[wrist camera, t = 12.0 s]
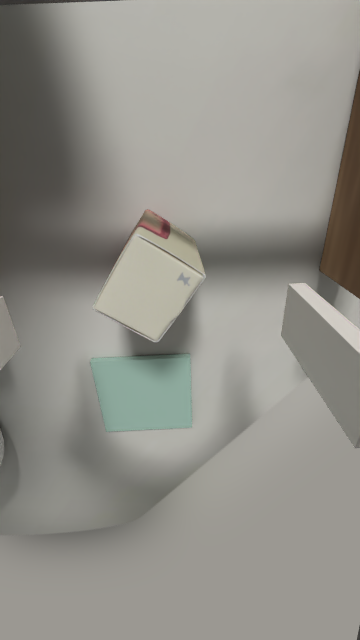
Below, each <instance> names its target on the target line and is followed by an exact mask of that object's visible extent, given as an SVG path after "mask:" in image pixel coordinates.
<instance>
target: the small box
mask: <svg viewBox="0 0 360 640" xmlns="http://www.w3.org/2000/svg"><path fill="white" fill-rule="evenodd" d="M205 278H206V274H205V271H204V268H203V265H202V261H201V258H200V255H199V252H198V249H197V246H196V243H195V240H194V239H193V238H191V237H190V236H189V235H187V234H186V233H184V232H183V231H182V230H180V229H179V228H177V227H176V226H174V225H173V224H171V223H170V222H168V221H166V220H165V219H163V218H162V217H160V216H159V215H157V214H155V213H154V212H152V211H150V210H148V209H147V210H146V211H145V212H144V214H143V215H142V217H141V218H140V220H139V222H138V223H137V225H136V227H135V228H134V230H133V232H132V233H131V235H130V237H129V239H128V241H127V242H126V244H125V246H124V248H123V250H122V252H121V254H120V256H119V257H118V259H117V261H116V263H115V265H114V267H113V269H112V271H111V272H110V274H109V276H108V278H107V280H106V282H105V284H104V286H103V287H102V289H101V291H100V293H99V295H98V297H97V299H96V301H95V303H94V305H93V309H94V310H95V311H97V312H99V313H101V314H102V315H104V316H106V317H108V318H110V319H112V320H113V321H115V322H117V323H119V324H121V325H122V326H124V327H126V328H128V329H130V330H131V331H133V332H135V333H137V334H139V335H141V336H143V337H145V338H147V339H149V340H151V341H152V342H155V343H156V342H158V341H160V339H161V338H162V337H163V335H164V334H165V333H166V332H167V330H168V329H169V328H170V326H171V325H172V324H173V322H174V321H175V319H176V318H177V317H178V316H179V314H180V313H181V312H182V310H183V309H184V307H185V306H186V305H187V303H188V302H189V300H190V299H191V298H192V296H193V295H194V293H195V292H196V291H197V289H198V288H199V286H200V285H201V284H202V282H203V281H204V280H205Z"/></svg>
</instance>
